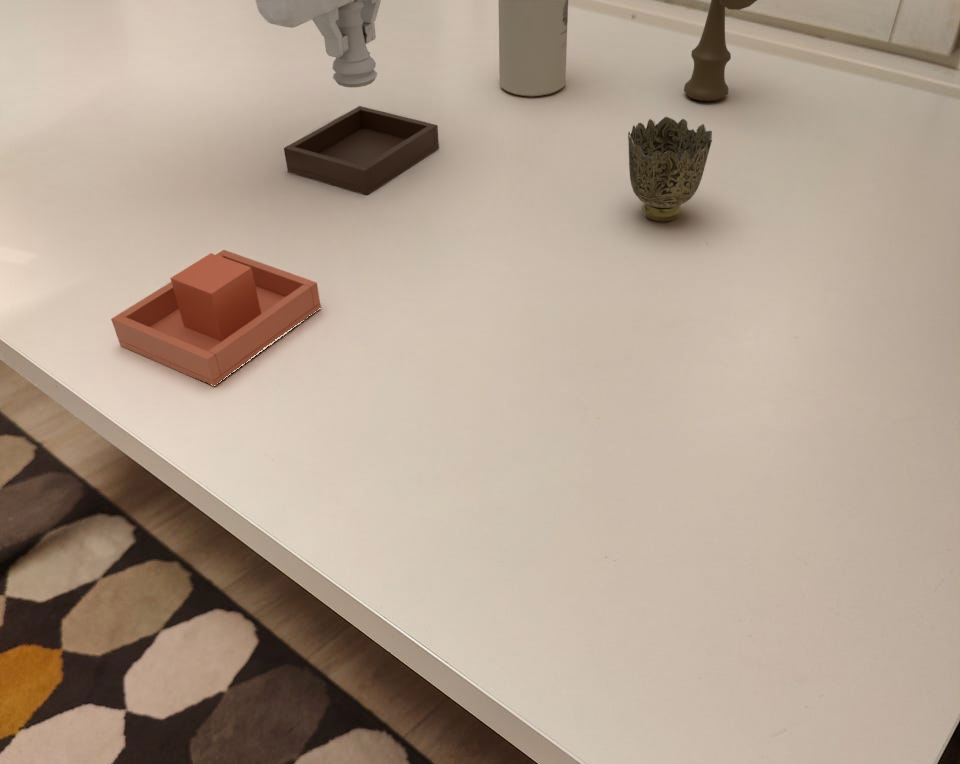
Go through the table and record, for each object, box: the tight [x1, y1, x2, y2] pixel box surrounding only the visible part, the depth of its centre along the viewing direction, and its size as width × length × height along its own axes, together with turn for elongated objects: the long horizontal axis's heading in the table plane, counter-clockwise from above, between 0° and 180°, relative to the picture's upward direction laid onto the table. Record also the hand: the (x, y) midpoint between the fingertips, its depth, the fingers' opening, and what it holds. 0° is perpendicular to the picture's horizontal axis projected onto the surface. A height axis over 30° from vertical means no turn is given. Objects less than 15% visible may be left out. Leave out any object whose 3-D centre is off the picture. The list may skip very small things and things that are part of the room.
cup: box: [627, 116, 713, 223], centre depth 87 cm, size 8×7×8 cm
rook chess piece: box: [332, 0, 378, 89], centre depth 92 cm, size 4×4×8 cm
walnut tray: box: [283, 105, 440, 196], centre depth 100 cm, size 13×11×3 cm
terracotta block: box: [170, 253, 261, 341], centre depth 76 cm, size 4×4×4 cm
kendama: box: [683, 0, 758, 102], centre depth 104 cm, size 6×10×20 cm, turn 18°
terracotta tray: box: [110, 249, 322, 387], centre depth 77 cm, size 13×11×3 cm
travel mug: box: [498, 0, 569, 98], centre depth 108 cm, size 8×8×18 cm
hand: (351, 48), depth 93 cm, fingers closed on rook chess piece, 3 cm apart
